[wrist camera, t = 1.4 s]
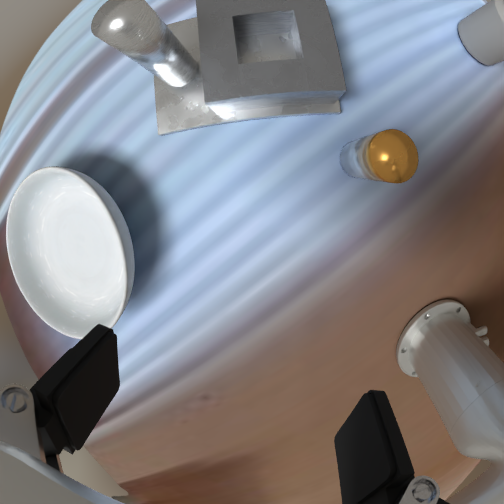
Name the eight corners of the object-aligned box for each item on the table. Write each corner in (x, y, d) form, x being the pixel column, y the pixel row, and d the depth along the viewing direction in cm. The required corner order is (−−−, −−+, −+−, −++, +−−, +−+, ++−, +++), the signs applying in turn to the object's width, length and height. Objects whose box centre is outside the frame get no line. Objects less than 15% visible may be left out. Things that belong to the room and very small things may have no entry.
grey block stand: (317, 8, 22) (338, -74, 8) (338, 114, 26) (394, 68, 11) (155, 32, 24) (91, -28, 10) (161, 135, 28) (76, 117, 13)
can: (467, 16, 18) (511, -11, 7) (498, 57, 19) (548, 40, 8) (446, 29, 20) (494, -3, 9) (480, 74, 21) (536, 56, 10)
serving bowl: (36, 165, 30) (2, 168, 23) (159, 167, 29) (129, 167, 22) (44, 297, 36) (17, 315, 29) (154, 330, 35) (133, 360, 28)
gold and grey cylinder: (372, 141, 26) (415, 130, 17) (376, 177, 27) (419, 182, 18) (337, 141, 27) (367, 128, 17) (341, 179, 28) (373, 184, 18)
